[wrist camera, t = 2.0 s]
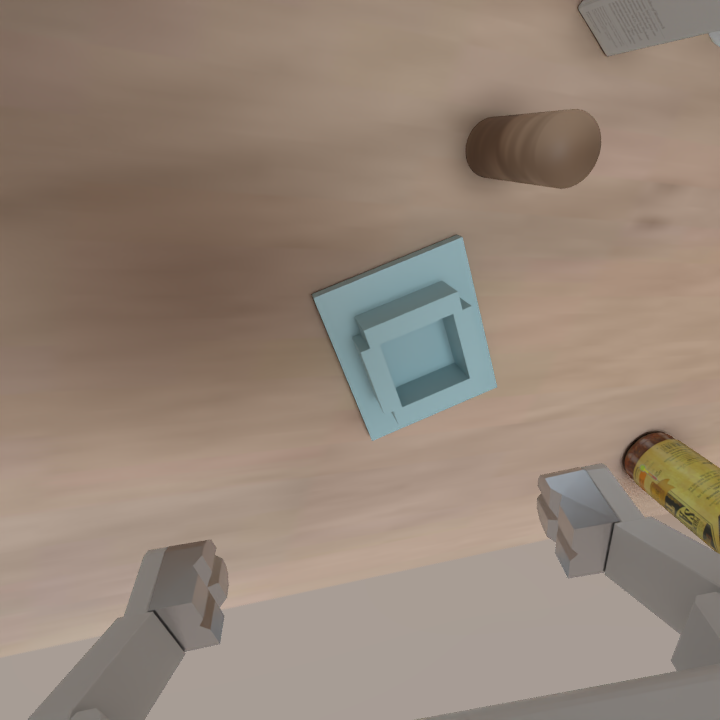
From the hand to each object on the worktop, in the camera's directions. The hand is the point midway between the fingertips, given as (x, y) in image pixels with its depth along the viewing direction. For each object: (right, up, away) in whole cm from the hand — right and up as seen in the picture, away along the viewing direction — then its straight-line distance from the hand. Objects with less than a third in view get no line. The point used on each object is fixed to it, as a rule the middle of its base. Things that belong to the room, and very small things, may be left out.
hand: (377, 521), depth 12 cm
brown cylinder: (+9, +19, +22) cm, 31 cm away
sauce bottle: (+31, -6, +40) cm, 51 cm away
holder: (+4, +6, +27) cm, 28 cm away
